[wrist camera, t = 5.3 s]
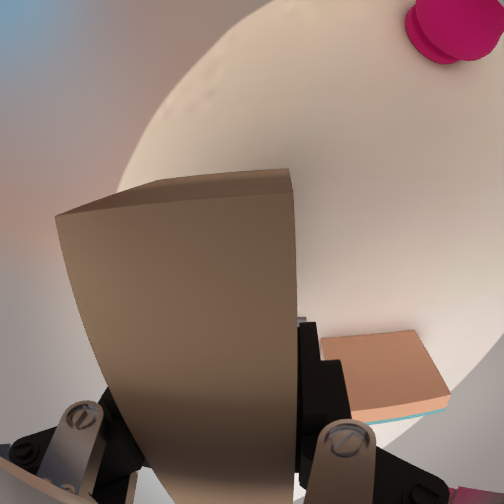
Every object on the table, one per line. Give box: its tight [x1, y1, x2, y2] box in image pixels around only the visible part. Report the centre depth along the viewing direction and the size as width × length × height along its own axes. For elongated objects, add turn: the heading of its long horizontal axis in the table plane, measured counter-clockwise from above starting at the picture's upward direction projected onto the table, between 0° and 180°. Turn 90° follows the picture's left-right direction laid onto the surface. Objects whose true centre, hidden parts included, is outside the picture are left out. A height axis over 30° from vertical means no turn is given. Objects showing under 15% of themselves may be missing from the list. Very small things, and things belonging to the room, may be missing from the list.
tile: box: [320, 330, 451, 425], centre depth 24 cm, size 2×10×10 cm, turn 94°
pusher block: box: [55, 169, 297, 504], centre depth 9 cm, size 12×4×5 cm, turn 4°
